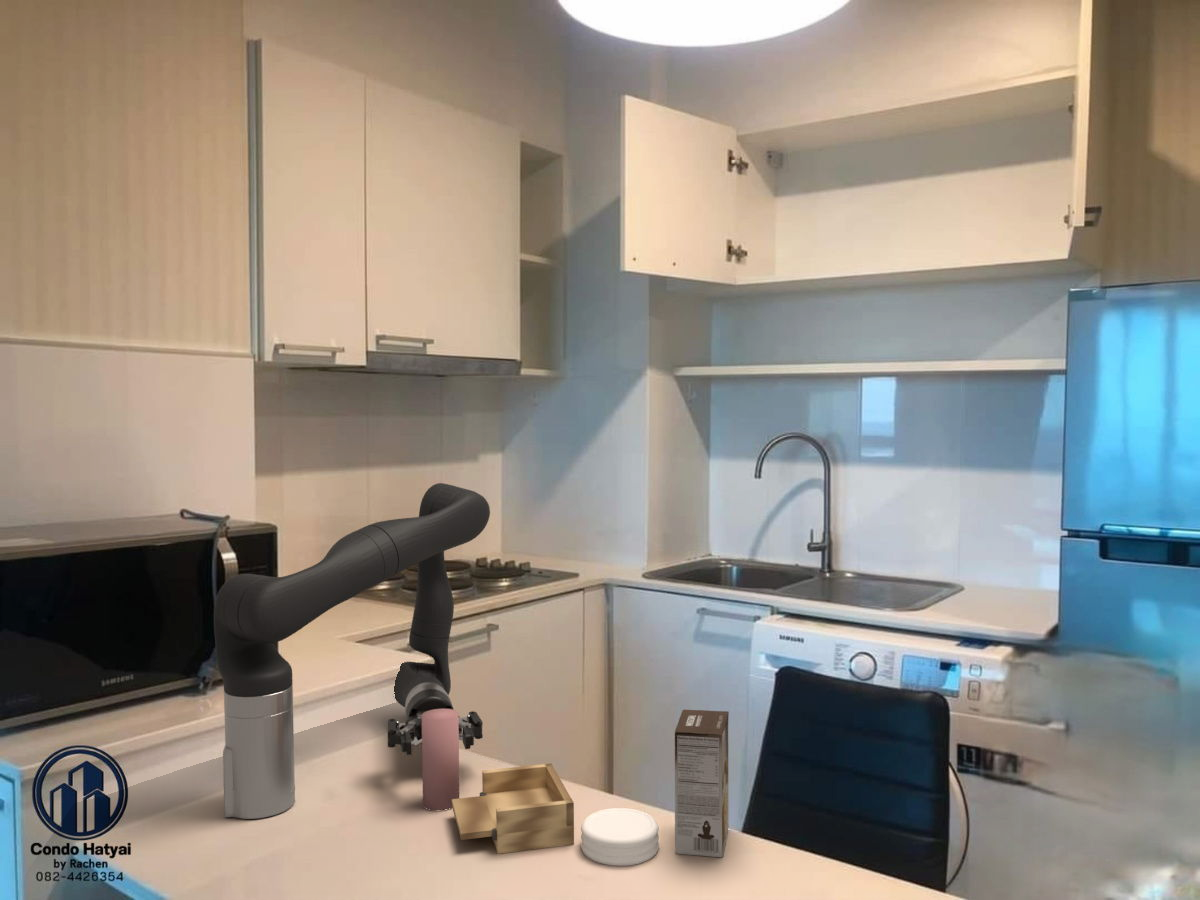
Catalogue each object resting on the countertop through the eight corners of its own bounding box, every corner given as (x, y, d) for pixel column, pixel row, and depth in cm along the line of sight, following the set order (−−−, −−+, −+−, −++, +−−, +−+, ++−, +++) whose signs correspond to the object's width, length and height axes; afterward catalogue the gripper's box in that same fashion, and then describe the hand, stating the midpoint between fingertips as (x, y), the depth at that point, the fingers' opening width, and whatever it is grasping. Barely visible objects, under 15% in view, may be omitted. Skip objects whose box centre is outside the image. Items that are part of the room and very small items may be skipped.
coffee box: (682, 823, 129) (682, 707, 128) (729, 827, 127) (729, 710, 127) (673, 854, 120) (673, 730, 119) (724, 859, 118) (724, 733, 118)
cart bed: (462, 858, 119) (461, 815, 119) (450, 812, 132) (450, 774, 132) (574, 844, 123) (573, 802, 122) (551, 800, 136) (551, 763, 136)
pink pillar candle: (424, 812, 132) (423, 721, 132) (421, 798, 137) (420, 710, 137) (461, 808, 134) (460, 718, 133) (457, 794, 139) (456, 707, 138)
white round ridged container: (669, 840, 124) (669, 814, 124) (640, 874, 115) (640, 846, 115) (601, 826, 128) (601, 801, 128) (567, 858, 119) (567, 831, 119)
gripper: (384, 692, 151) (388, 724, 136) (472, 684, 155) (487, 715, 139) (384, 738, 152) (389, 776, 136) (473, 729, 155) (487, 765, 140)
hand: (438, 745), depth 138 cm, fingers open, 8 cm apart
